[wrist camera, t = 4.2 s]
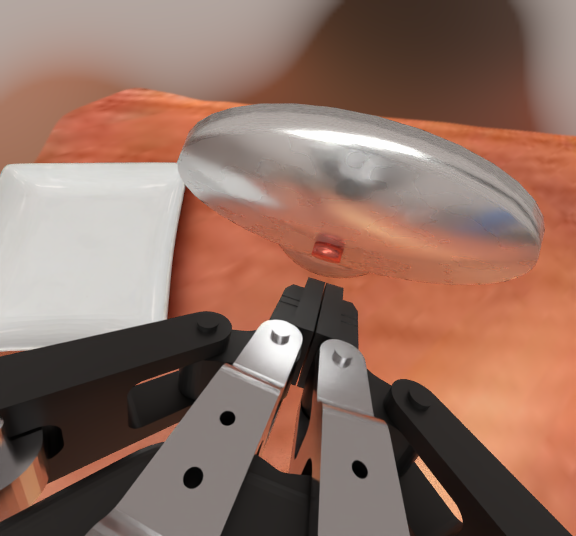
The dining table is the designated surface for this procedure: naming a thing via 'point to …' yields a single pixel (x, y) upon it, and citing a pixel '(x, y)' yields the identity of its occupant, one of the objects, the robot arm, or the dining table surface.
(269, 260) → the dining table surface
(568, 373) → the dining table surface
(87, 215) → the square plate
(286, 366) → the robot arm
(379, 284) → the dining table surface
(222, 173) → the lid
